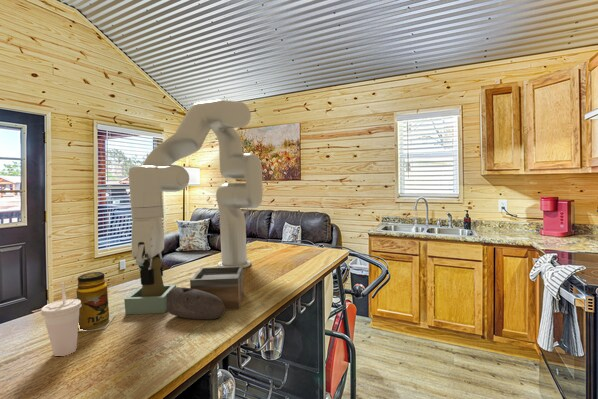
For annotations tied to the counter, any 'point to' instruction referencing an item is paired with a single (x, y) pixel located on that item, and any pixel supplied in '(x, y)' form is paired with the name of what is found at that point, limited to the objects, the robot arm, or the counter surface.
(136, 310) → the shaker holder
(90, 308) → the condiment
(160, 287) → the tan rounded piece
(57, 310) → the smoothie
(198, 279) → the gray open box
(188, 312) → the perforated stone tool
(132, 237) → the robot arm
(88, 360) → the counter surface
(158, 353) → the counter surface
